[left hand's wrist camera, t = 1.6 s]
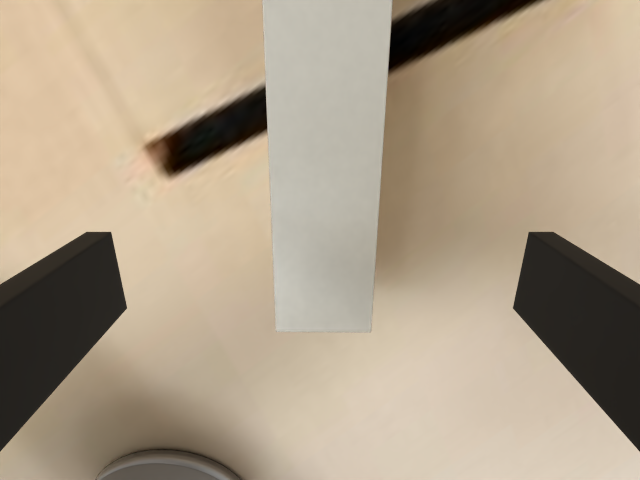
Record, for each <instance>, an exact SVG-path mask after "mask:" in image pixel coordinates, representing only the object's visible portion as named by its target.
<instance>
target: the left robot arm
mask: <svg viewBox="0 0 640 480" xmlns="http://www.w3.org/2000/svg"><path fill="white" fill-rule="evenodd" d="M126 309H127V306H126V301H125V296H124V292H123V287H122V282H121V277H120V272H119V268H118V263H117V258H116V253H115V249H114V244H113V239H112V234H111V232H86V233H84V234H83V235H81V236H79V237H78V238H76V239H74V240H73V241H71V242H69V243H68V244H66V245H64V246H63V247H61V248H60V249H58V250H56V251H55V252H53V253H51V254H50V255H48V256H46V257H45V258H43V259H41V260H40V261H38V262H37V263H35V264H33V265H32V266H30V267H28V268H27V269H25V270H23V271H22V272H20V273H18V274H17V275H15V276H14V277H12V278H10V279H9V280H7V281H5V282H4V283H2V284H0V451H1V450H2V449H3V448H4V447H5V445H6V444H7V443H8V442H9V441H10V440H11V439H12V438H13V436H14V435H15V434H16V433H17V432H18V431H19V430H20V429H21V427H22V426H23V425H24V424H25V423H26V422H27V421H28V419H29V418H30V417H31V416H32V415H33V414H34V413H35V412H36V410H37V409H38V408H39V407H40V406H41V405H42V404H43V403H44V401H45V400H46V399H47V398H48V397H49V396H50V395H51V393H52V392H53V391H54V390H55V389H56V388H57V387H58V386H59V384H60V383H61V382H62V381H63V380H64V379H65V378H66V377H67V375H68V374H69V373H70V372H71V371H72V370H73V369H74V368H75V366H76V365H77V364H78V363H79V362H80V361H81V360H82V358H83V357H84V356H85V355H86V354H87V353H88V352H89V351H90V349H91V348H92V347H93V346H94V345H95V344H96V343H97V342H98V340H99V339H100V338H101V337H102V336H103V335H104V334H105V332H106V331H107V330H108V329H109V328H110V327H111V326H112V325H113V323H114V322H115V321H116V320H117V319H118V318H119V317H120V316H121V314H122V313H123V312H124V311H125V310H126ZM513 309H514V310H515V311H516V312H517V313H518V314H519V316H520V317H521V318H522V319H523V320H524V321H525V322H526V323H527V325H528V326H529V327H530V328H531V329H532V330H533V331H534V332H535V334H536V335H537V336H538V337H539V338H540V339H541V340H542V342H543V343H544V344H545V345H546V346H547V347H548V348H549V349H550V351H551V352H552V353H553V354H554V355H555V356H556V357H557V358H558V360H559V361H560V362H561V363H562V364H563V365H564V366H565V368H566V369H567V370H568V371H569V372H570V373H571V374H572V375H573V377H574V378H575V379H576V380H577V381H578V382H579V383H580V384H581V386H582V387H583V388H584V389H585V390H586V391H587V392H588V393H589V395H590V396H591V397H592V398H593V399H594V400H595V401H596V403H597V404H598V405H599V406H600V407H601V408H602V409H603V410H604V412H605V413H606V414H607V415H608V416H609V417H610V418H611V419H612V421H613V422H614V423H615V424H616V425H617V426H618V427H619V429H620V430H621V431H622V432H623V433H624V434H625V435H626V436H627V438H628V439H629V440H630V441H631V442H632V443H633V444H634V445H635V447H636V448H637V449H638V450H639V451H640V284H638V283H636V282H635V281H633V280H631V279H630V278H628V277H626V276H625V275H623V274H622V273H620V272H618V271H617V270H615V269H613V268H612V267H610V266H608V265H607V264H605V263H603V262H602V261H600V260H599V259H597V258H595V257H594V256H592V255H590V254H589V253H587V252H585V251H584V250H582V249H580V248H579V247H577V246H576V245H574V244H572V243H571V242H569V241H567V240H566V239H564V238H562V237H561V236H559V235H557V234H556V233H554V232H529V234H528V239H527V244H526V249H525V253H524V258H523V263H522V268H521V272H520V277H519V282H518V287H517V292H516V296H515V301H514V306H513ZM96 480H241V479H240V478H238V477H237V476H236V475H235V474H234V473H233V472H231V471H230V470H229V469H227V468H225V467H224V466H222V465H220V464H219V463H217V462H215V461H212V460H210V459H208V458H205V457H202V456H199V455H196V454H192V453H188V452H183V451H175V450H149V451H142V452H137V453H133V454H130V455H127V456H124V457H122V458H120V459H118V460H116V461H114V462H112V463H111V464H109V465H108V466H107V467H106V468H104V469H103V470H102V471H101V472H100V474H99V475H98V476H97V478H96Z"/></svg>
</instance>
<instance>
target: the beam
mask: <svg viewBox="0 0 640 480" xmlns="http://www.w3.org/2000/svg"><path fill="white" fill-rule="evenodd" d="M392 3H393V0H262V5H263V29H264V54H265V78H266V102H267V127H268V151H269V176H270V200H271V224H272V249H273V273H274V298H275V322H276V332H371V326H372V311H373V295H374V280H375V264H376V249H377V234H378V218H379V203H380V187H381V172H382V157H383V141H384V126H385V110H386V95H387V80H388V64H389V49H390V33H391V18H392Z"/></svg>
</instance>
